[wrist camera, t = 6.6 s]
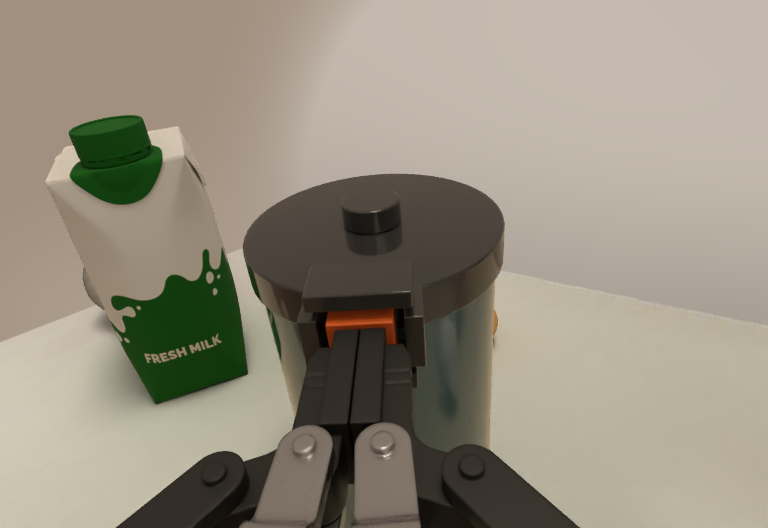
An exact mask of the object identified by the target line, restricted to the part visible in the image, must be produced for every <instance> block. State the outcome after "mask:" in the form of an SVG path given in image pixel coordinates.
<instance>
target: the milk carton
mask: <svg viewBox="0 0 768 528" xmlns="http://www.w3.org/2000/svg"><path fill="white" fill-rule="evenodd" d="M69 136H70V138H71V141H72V143H73V146H67V147H65V148H64V149H63V151H62V153H61V155H58V156H57V157H56V158H55V160H54V162H55V163H54V165H53V167H52V169H51V171H50V173H49V175H48V177H47V179H46V182H45V184H46V186H47V188H48V190H49V192H50V194H51V196H52V198H53V200H54V202H55V204H56V207H57V209H58V211H59V213H60V215H61V217H62V219H63V222H64V224H65V226H66V228H67V230H68V232H69V235H70V237H71V239H72V241H73V243H74V246H75V247H76V250H77V252H78V254H79V256H80V258H81V260H82V263H83V265H84V267H85V269H86V271H87V273H88V275H89V277H90V279H91V282H92V284H93V286H94V288H95V290H96V292H97V294H98V296H99V298H100V300H101V302H102V305H103V307H104V309H105V311H106V313H107V315H108V317H109V319H110V321H111V323H112V326H113V328H114V330H115V332H116V334H117V336H118V338H119V340H120V342H121V344H122V346H123V348H124V350H125V352H126V354H127V356H128V358H129V359H130V361H131V363H132V364H133V366H134V368H135V370H136V371H137V373H138V375H139V376H140V378H141V380H142V382H143V383H144V385H145V387H146V388H147V390H148V392H149V393H150V395H151V397H152V399H153V400H154V402H155V404H157V403H160V402H163V401H166V400H169V399H172V398H175V397H178V396H181V395H184V394H187V393H190V392H193V391H196V390H199V389H202V388H205V387H208V386H211V385H214V384H217V383H220V382H223V381H226V380H229V379H232V378H235V377H238V376H241V375H244V374H248V370H247V362H246V354H245V346H244V338H243V330H242V322H241V314H240V308H239V303H238V297H237V293H236V289H235V284H234V280H233V276H232V273H231V270H230V266H229V263H228V259H227V256H226V253H225V249H224V246H223V242H222V239H221V236H220V232H219V229H218V226H217V223H216V219H215V216H214V212H213V209H212V206H211V203H210V200H209V197H208V195H207V192H206V190H205V187H204V185H206V184H205V180H204V177H203V175H202V172H201V170H200V167H199V165H198V163H197V161H196V159H195V157H194V155H193V153H192V151H191V149H190V147H189V146H188V144H187V142H186V141H185V139H184V137H183V135H182V133H181V131H180V128H179V127H178V126H176V127H171V128H165V129H160V130H154V131H149V132H147V130H146V127H145V124H144V121H143V119H142V118H141V117H140V116H135V115H126V116H115V117H108V118H103V119H98V120H94V121H90V122H87V123H84V124H81V125H79V126H76V127H74V128H72V129H71V130H70V131H69ZM199 175H200V176H199ZM200 177H201V178H200ZM201 179H202V180H201ZM202 181H203V182H204V185H203V183H202Z"/></svg>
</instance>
